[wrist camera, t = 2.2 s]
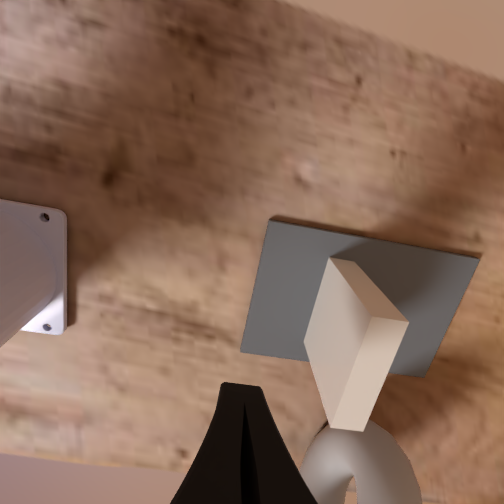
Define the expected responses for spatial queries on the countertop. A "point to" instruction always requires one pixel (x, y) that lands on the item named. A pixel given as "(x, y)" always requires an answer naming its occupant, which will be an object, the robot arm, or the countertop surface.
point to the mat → (375, 267)
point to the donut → (359, 467)
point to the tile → (351, 343)
